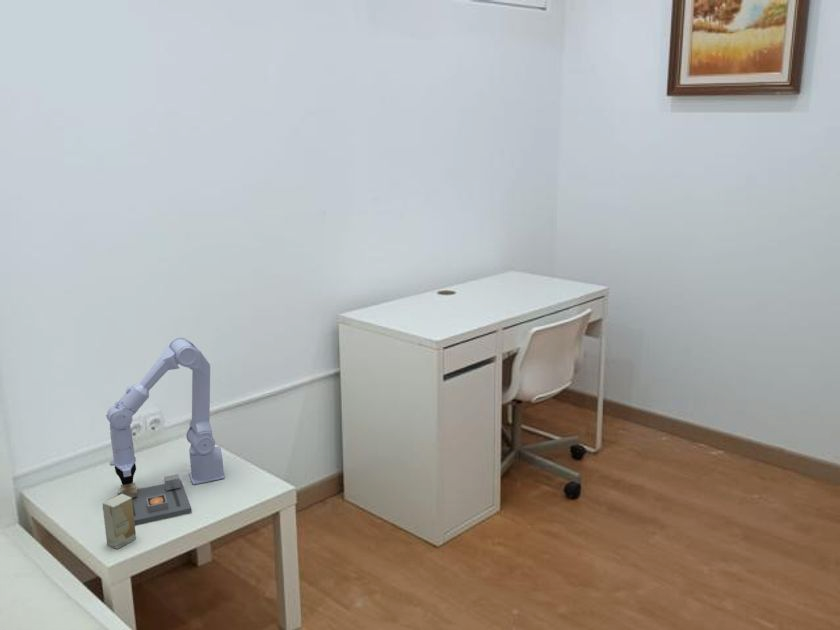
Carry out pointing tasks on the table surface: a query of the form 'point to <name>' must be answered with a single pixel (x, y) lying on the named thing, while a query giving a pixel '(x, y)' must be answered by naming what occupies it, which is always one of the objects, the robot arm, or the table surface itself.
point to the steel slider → (172, 482)
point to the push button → (156, 501)
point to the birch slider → (129, 490)
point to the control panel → (172, 505)
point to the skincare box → (119, 521)
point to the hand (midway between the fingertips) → (128, 488)
